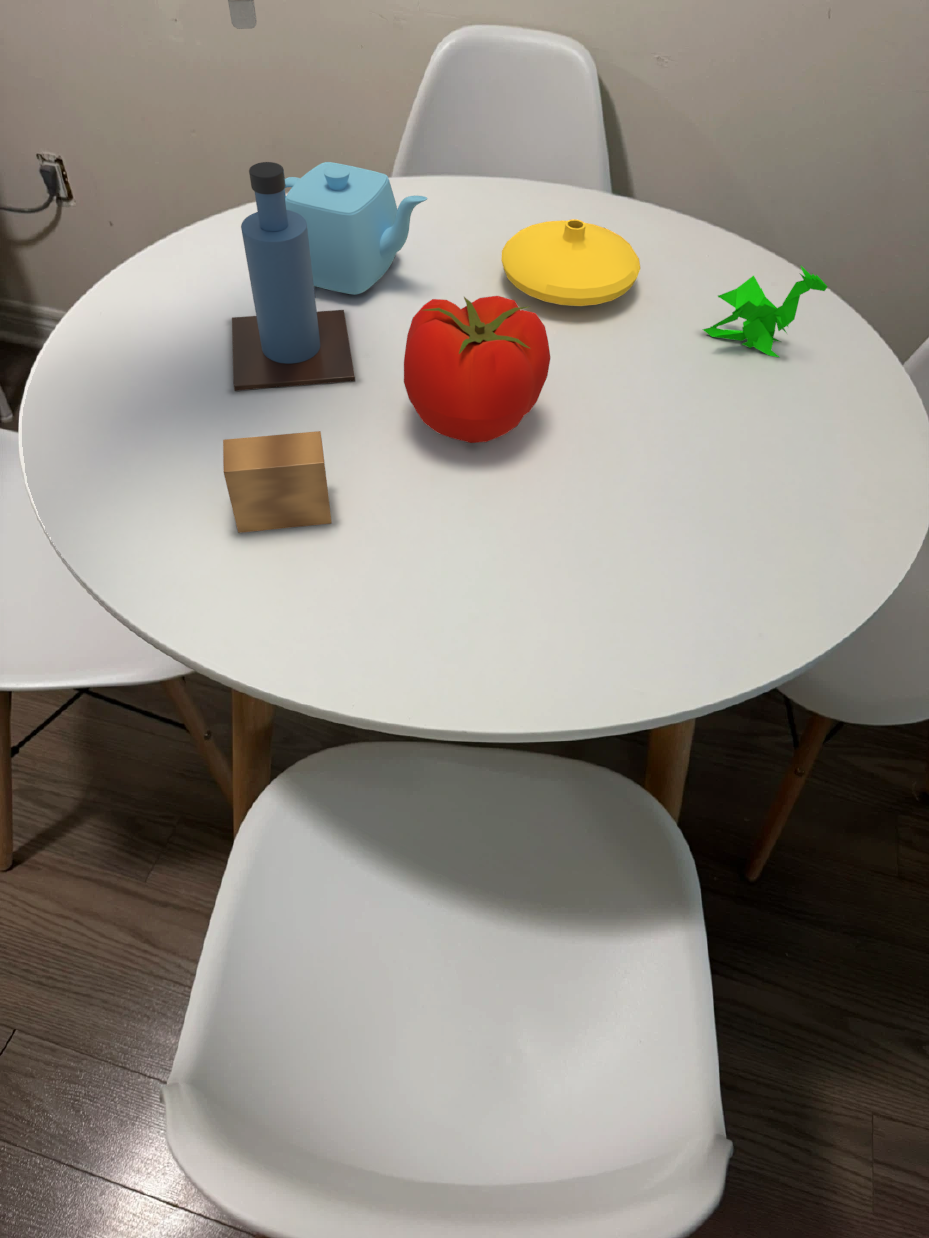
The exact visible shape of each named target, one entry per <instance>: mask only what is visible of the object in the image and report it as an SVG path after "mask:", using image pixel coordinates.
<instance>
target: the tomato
mask: <svg viewBox="0 0 929 1238" xmlns="http://www.w3.org/2000/svg"><path fill="white" fill-rule="evenodd" d="M463 300H464V301H465V303H466V305H465V306H464V307H460V306H459V305H457V304H455V303H454V302H451V301H450V300H448V299H443V298H441V299H439V298H432V299H430V300H429V301H428V302H425V304H423V305H422V307H420V309H419V310H418V311H417V312H416V313H415V315H413V317H412V320H411V323H410V325H409V328H408V332H407V334H406V335H407V336H406V342H405V348H404V349H405V350H404V357H403V385H404V388H405V391H406V395H407V397H408V398H407V399H408V400H409V401H410V403H411V406H412V407H413V408H414V410H415V412H416V413H417V415H418V417H419V418H420V419H421V421H422V422H423V424H425V425H426V426H427V427H429V428H430V429H432V431H434V432H435V433H437V434H440V435H442V436H444V437H447V438H451V439H453V440H457V441H462V442H465V443H469V444H477V443H487V442H489V441H494V440H495V439H498V438H500V437H502V436H505V435H506V434H508V433H509V432H511V431H512V430H513V429H515V428H517V427H518V425H519V424H520V422H521V421H522V420H523V418H524V417H525V416H526V415H528V414H529V413H530V412H531V411H532V410H533V408H534V406H535V405H536V403H537V402H538V400H539V397H540V396H541V393H542V390H543V388H544V385H545V383H546V380H547V378H548V375H549V370H550V364H551V352H550V345H549V338H548V334H547V329H546V326H545V324H544V323H543V322H542V320H541V319H540V317H539V316H538V314H537V313H536V312H533V311H529V310H524V309H527V308H530V307H531V305H527V306H519V305H518V303H517V302H516V300H514V299H511V298H507V297H504V296H500V295H492V296H483V297H479V298H477V299H475V300H473V301H472V302H471V301H470V300H469V299H468V298H467V297H466V296H463Z"/></svg>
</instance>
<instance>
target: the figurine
mask: <svg viewBox="0 0 929 1238" xmlns="http://www.w3.org/2000/svg"><path fill="white" fill-rule="evenodd" d="M800 268H801V272H802V273H799V275H800V277H801V278H802V279H803V280H798V281H795V283H794V284H793V286H792V288H791V290H790V291H789V292H788V294H787V296H786V297H785V299H784V301H783V302H782V305H780V306H776V305H775V304H774V303H772V301H771V300H770V299H769V298H768V297H766V294H765V292H764V290H763V289H762V287H760V284H759V282H758V280H757V279H756V277H755V275H752V276H751V277H750V278H748V279H747V280H745V281H744V282H743V283H742V284H740V285H739V286H738V287H737V288H734V289H731V290H728V291H726V292H724V293H722V294H717V298H720V299H721V300H722V301H724V302H726V303H727V304H729V305H730V306H732V307H733V308H734V311H731V314H730V315H729V316H727V317H725V318H723V319H722V320H720V321H718V322H716V323H714V324H713V325H712V326H709V327H707V328H703V329H702V331H704V333H706V334H707V335H708V336H710V337H712V338H718V339H726V340H732V341H739V342H742V343H741V345H742V346H745V347H747V348H749V349H751V348H754V349H756V350H758V351H759V352H762V353H764V354H766V355H767V356H770V357H775V358H780V355H778V354H777V353H776V352H774V350H772V349H773V344H774V342H780V343H782V341H781V340H779V339H777V338H775V332H776V326H777V331H778V332H780V331H784V332H785V334H788V332H787V331H786V329H785V328H786V327H787V329H788V328H789V325H791V323H792V322H794V320H795V318H796V314H797V311H798V306H799V302H800V297H801V295H804V294H805V293H808V292H809V291H810V290H813V291H819V292H820V291H821V292H825V291H826V290H827V289H828V285H827V284H826V283H825V282H824V281H823V280H822V279H821V277H820V276H819V275H818V274H814V273H812V274H811V273H810V272H809V271H807V269H805V267H803V265H801V264H800ZM739 318H741V319H743V320H744V321H743V322H742V327H741V329H742V330H738V329H725V328H724V329H722V328H719V327H720V326H723V325H726V324H729V323H732V322H735V321H737V320H739ZM745 340H746V341H745ZM743 341H745V342H743Z"/></svg>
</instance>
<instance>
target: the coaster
mask: <svg viewBox="0 0 929 1238" xmlns="http://www.w3.org/2000/svg"><path fill="white" fill-rule="evenodd" d="M317 319H318V328H319V338H320V349H319V351H318V353H317V354H316V355H315V356H313V357H312V358H310V359H308V360H306V361H303V362H300V363H293V364H285V363H279V362H275V361H273V360H271V359H269V358H267V357H266V356H265V355H264V353H263V351H262V346H261V341H260V335H259V329H258V323H257V317H256V315H248V316H234V317H231V338H232V339H231V340H232V341H231V342H232V377H233V379H232V380H233V381H232V382H233V390H234V392H238V391H249V390H263V389H277V388H287V387H288V388H289V387H300V386H311V385H312V386H313V385H323V384H324V385H326V384H337V383H348V382H349V383H351V382H355V381H356V375H355V370H354V369H355V368H354V362H353V357H352V352H351V345H350V338H349V332H348V326H347V321H346V314H345V309H333V310H322V311H321V310H320V311H319V310H317Z"/></svg>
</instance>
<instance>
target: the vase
mask: <svg viewBox="0 0 929 1238" xmlns="http://www.w3.org/2000/svg"><path fill="white" fill-rule="evenodd" d="M500 259H501V264H502V268H503V271H504V273H505V276H506V278H507V279H508V280H509V282H510V283H511V284H512V285H513V286H514V287H515V288H516V289H518V290H520V291H521V292H523V294H525V295H527V296H529V297H531V298H535V299H538V300H540V301H543V302H546V303H551V304H555V305H560V306H571V307H573V306H574V307H585V306H596V305H602V304H604V303H608V302H612V301H614V300H616V299H617V298H619V297H622V296H624V295H625V294H626V293H627V292H628V291H629V290H630V289H631V288H632V287H633V286H634V284H635V282H636V280H637V279H638V278H639V277H638V276H639V274H640V272H641V262H640V261H641V260H640V258H639V256H638V255H637V253H636V251H635V250H634V248H633V247H632V244H631V243H630V242H628V241H627V240H626V239H625V238H624V237H623V236H622V235H620V234H618V233H616V232H614V231H613V230H611V229H608V228H607V227H603V226H600V225H597V224H594V223H589V222H584V221H583V220H581V219H577V218H573V219H568V220H549V221H544V222H539V223H534V224H530V225H529V226H526V227H525V228H522V229H520V230H519V231H517V232H516V233H515V234H514V235H513V236H511V237H510V238H509V239H508V240H507V241H506V242H505V245H504V246H503V247H502V249H501V258H500Z"/></svg>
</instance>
